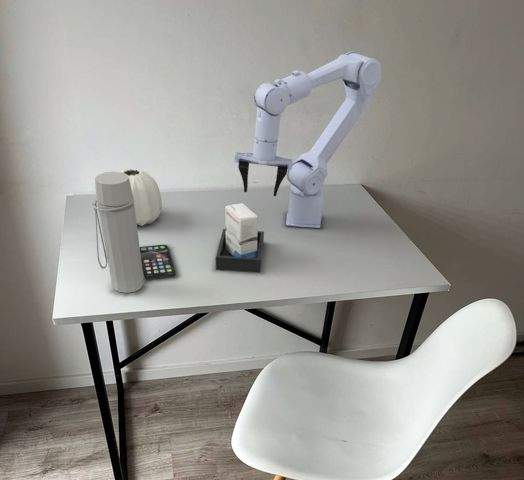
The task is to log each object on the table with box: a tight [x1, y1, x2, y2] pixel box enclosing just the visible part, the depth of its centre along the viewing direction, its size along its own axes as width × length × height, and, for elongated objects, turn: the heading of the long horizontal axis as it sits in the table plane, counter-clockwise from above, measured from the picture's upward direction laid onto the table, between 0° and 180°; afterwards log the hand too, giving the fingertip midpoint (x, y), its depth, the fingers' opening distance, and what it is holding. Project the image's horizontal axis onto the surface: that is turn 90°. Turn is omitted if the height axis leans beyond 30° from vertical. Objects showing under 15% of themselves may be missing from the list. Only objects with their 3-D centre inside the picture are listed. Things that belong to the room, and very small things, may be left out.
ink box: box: [224, 202, 259, 258], centre depth 125 cm, size 9×5×12 cm, turn 29°
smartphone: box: [140, 244, 177, 280], centre depth 125 cm, size 7×1×15 cm
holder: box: [215, 228, 265, 274], centre depth 128 cm, size 11×15×4 cm
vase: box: [120, 168, 163, 227], centre depth 138 cm, size 14×14×13 cm
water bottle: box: [91, 171, 145, 294], centre depth 109 cm, size 9×8×25 cm
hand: (260, 192), depth 134 cm, fingers open, 7 cm apart
